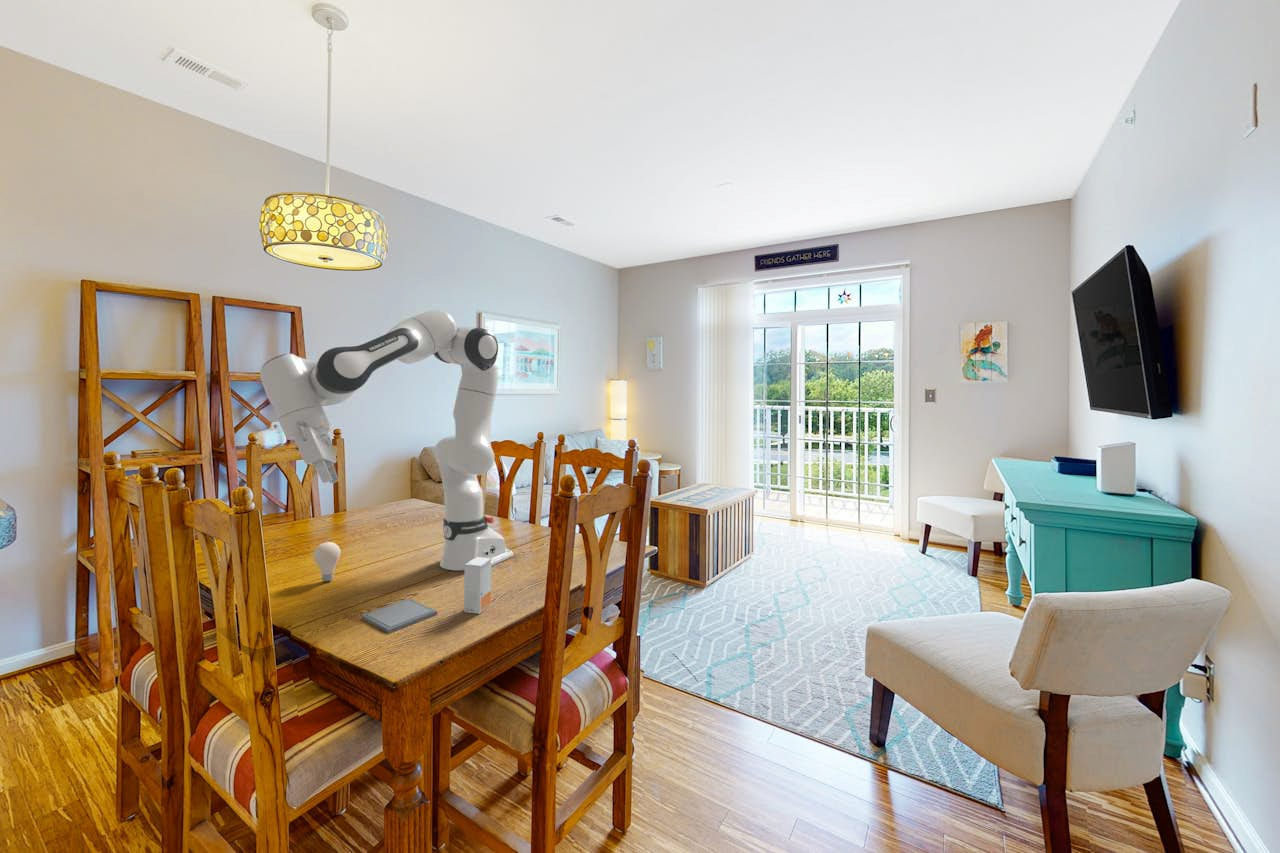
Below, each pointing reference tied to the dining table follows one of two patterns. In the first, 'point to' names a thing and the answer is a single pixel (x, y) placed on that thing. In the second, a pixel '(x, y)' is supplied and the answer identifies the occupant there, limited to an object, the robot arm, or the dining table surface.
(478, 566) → the skincare box
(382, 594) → the dining table surface
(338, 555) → the light bulb
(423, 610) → the plate
